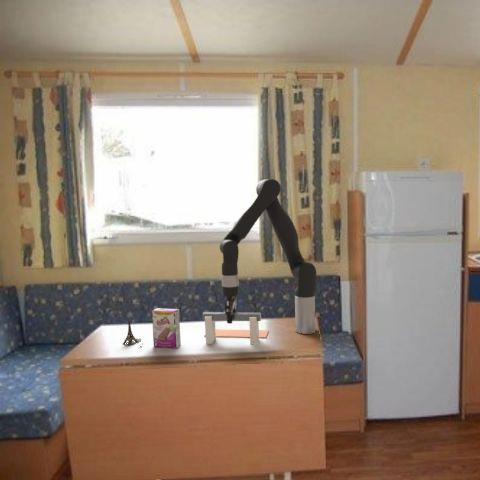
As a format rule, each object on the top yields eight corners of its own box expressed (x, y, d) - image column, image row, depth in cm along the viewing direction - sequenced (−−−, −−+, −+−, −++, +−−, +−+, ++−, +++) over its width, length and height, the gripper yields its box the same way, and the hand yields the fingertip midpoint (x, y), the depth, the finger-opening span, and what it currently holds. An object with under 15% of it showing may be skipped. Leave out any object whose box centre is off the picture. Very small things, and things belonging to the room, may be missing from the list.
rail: (261, 319, 181) (260, 312, 181) (260, 321, 178) (260, 314, 178) (204, 318, 186) (204, 312, 185) (202, 320, 183) (202, 313, 182)
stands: (259, 339, 184) (258, 313, 183) (257, 344, 178) (256, 317, 177) (209, 338, 188) (208, 313, 187) (205, 343, 182) (204, 317, 181)
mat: (268, 331, 195) (268, 330, 195) (266, 338, 186) (266, 337, 186) (209, 330, 201) (209, 329, 201) (204, 336, 191) (204, 335, 191)
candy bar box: (153, 347, 180) (151, 310, 178) (158, 343, 184) (156, 307, 183) (176, 348, 176) (174, 311, 175) (181, 344, 181) (179, 308, 180)
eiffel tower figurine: (141, 349, 179) (140, 319, 178) (118, 351, 178) (116, 321, 176) (144, 338, 194) (142, 310, 193) (122, 340, 192) (120, 312, 191)
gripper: (235, 288, 173) (237, 325, 174) (241, 281, 187) (242, 316, 188) (218, 288, 174) (219, 325, 176) (225, 281, 188) (226, 315, 190)
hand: (231, 320), depth 182 cm, fingers open, 8 cm apart
